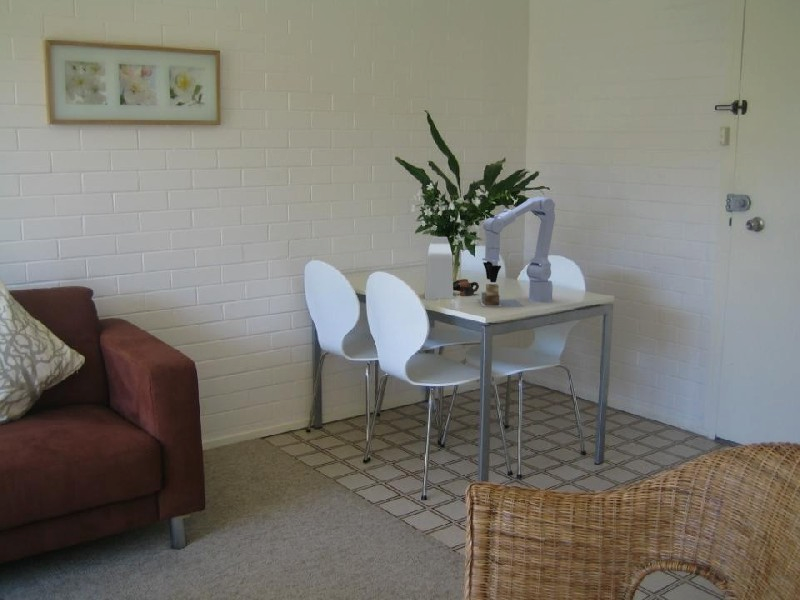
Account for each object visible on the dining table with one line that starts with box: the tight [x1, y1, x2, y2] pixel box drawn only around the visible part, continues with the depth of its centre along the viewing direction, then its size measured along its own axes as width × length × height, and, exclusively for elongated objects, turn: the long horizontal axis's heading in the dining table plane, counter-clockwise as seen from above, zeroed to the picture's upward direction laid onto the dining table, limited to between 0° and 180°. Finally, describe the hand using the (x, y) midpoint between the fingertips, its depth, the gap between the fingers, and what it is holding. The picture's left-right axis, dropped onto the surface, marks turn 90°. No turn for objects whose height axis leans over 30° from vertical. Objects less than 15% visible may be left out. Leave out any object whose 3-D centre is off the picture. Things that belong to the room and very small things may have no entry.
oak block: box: [485, 283, 500, 296], centre depth 366 cm, size 4×4×4 cm
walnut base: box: [481, 292, 501, 306], centre depth 367 cm, size 6×6×4 cm
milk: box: [424, 236, 454, 300], centre depth 383 cm, size 12×12×26 cm
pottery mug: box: [453, 278, 480, 297], centre depth 391 cm, size 12×10×8 cm
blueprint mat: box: [476, 298, 525, 308], centre depth 371 cm, size 17×18×1 cm
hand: (491, 280), depth 365 cm, fingers open, 7 cm apart
